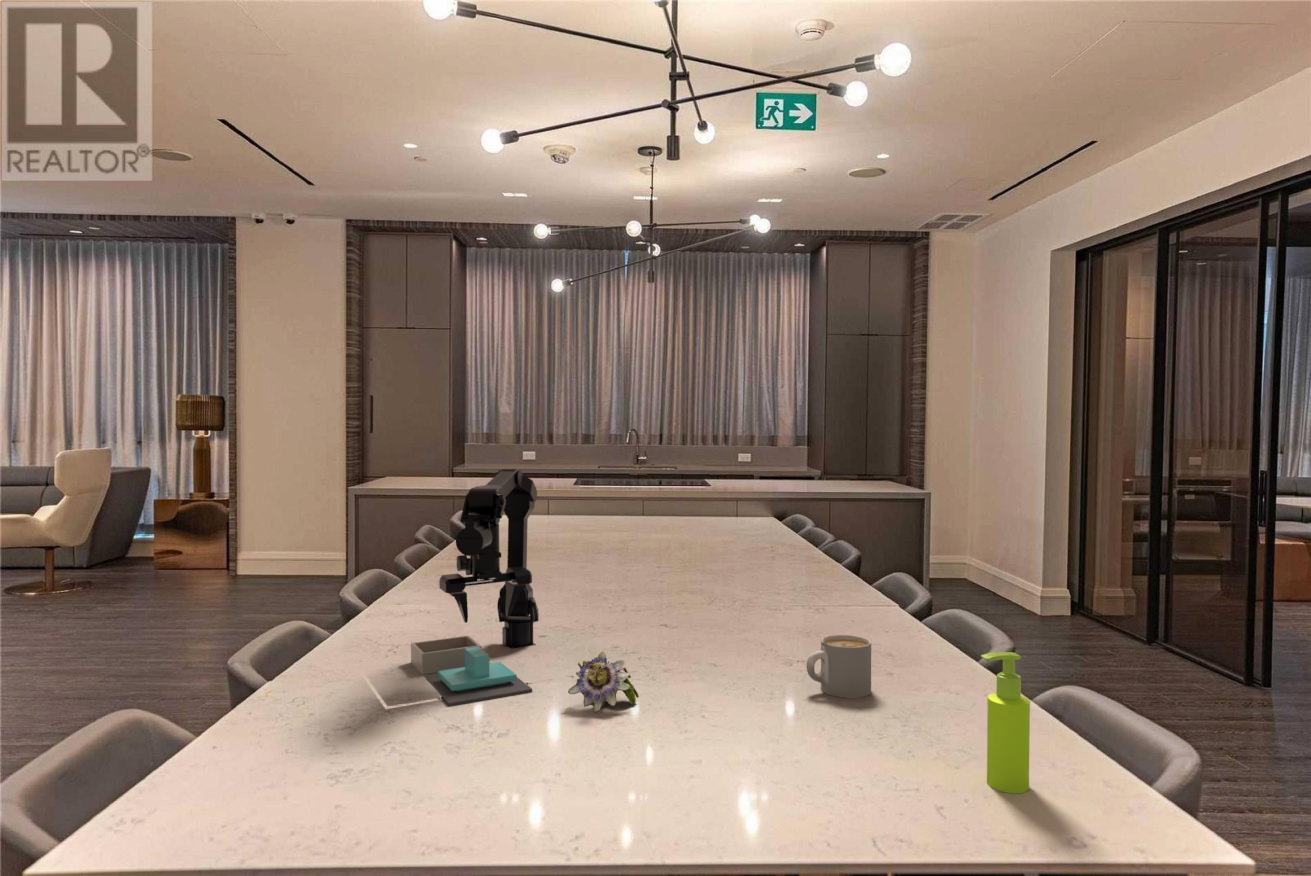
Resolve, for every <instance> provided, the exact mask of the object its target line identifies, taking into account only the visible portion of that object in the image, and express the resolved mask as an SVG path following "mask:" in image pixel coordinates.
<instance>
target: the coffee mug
mask: <svg viewBox="0 0 1311 876" xmlns="http://www.w3.org/2000/svg"><path fill="white" fill-rule="evenodd" d="M818 660H820V671H819V672H818V673H816V671H815V664H816V662H817V661H818ZM806 672H807V675H808V677H810V679H812V680H813V681H815V682H818V683H820V689H821V691H822V692H824V693H825V694H828V695H830V696H833V697H837V698H847V699H851V698H852V699H857V698H863V697H866V696H869V695H870V694H871V693H872V641H871V640H870V639H868V638H866V637H862V636H859V635H854V634H853V635H852V634H830V635H827V636H824V637H822V638H821V642H820V650H818V651H814V652H812V653H810V654H809V656H808V657H807V660H806Z"/></svg>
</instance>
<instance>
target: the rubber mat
mask: <svg viewBox="0 0 1311 876" xmlns="http://www.w3.org/2000/svg"><path fill="white" fill-rule="evenodd" d="M423 678H425V680H426V681H427V682H428V683H429V684H431V686H432V687H433V688H434V689H435V691H437V692H438V693H439V694H440V695H441V696H440V698H441V700H443V701H444V703H445V704H446V705H447V706H448V707H452V706H459V705H465V704H470V703H476V702H481V701H487V700H492V698H494V699H497V698H498V697H500V698H505V697H510V695H511V696H516V694H517V695H521V694H522V693H523V694H527V693H528V692H529V693H532V692H533V688H532V687H531V686H529V685H528V684H527V683H525V682H524V681H523V680H522V679H521V678H519V677H518V676H517V680H516V681H510V682H507V684H501V685H495V686H489V687H482V688H476V689H470V690H464V691H458V692H457V691H456V690H455V691H452V690H451V689H450V688H449V687H448V686H447V685H446V684H445V683H444V682H443V681H442V680H441V679H440V678H439V677H438V673H436V674H432V675H431V674H430V675H424V676H423ZM504 696H505V697H504ZM498 699H499V698H498Z"/></svg>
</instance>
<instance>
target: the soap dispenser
mask: <svg viewBox="0 0 1311 876" xmlns="http://www.w3.org/2000/svg"><path fill="white" fill-rule="evenodd" d="M980 657H981V658H982V659H983V660H985V661H987V662H992V661H999V660H1002V671H1000V672H999V673H997V674H996V692H993V693H989V694H988V695H987V711H986V712H987V713H986V714H987V716H986V717H987V720H986V721H987V724H986V725H987V726H986V727H987V728H986V732H987V733H986V738H987V739H986V752H987V753H986V783H987V785H988V786H989V787H991V788H993V789H994V790H997V791H1000V792H1003V793H1009V794H1022V793H1025V792H1027V791H1029V789H1030V736H1031V735H1030V729H1031V727H1030V726H1031V725H1030V721H1031V720H1030V719H1031V717H1030V716H1031V715H1030V714H1031V713H1030V712H1031V711H1030V710H1031V707H1030V705H1031V700H1029V699H1028V697H1025V696H1023V695H1022V676H1021V675H1019V674H1017V673H1016V661H1021V660H1022V656H1021V655H1020V654H1018V653H1016V652H1011V651H1010V652H1009V651H992V652H988V653H984V654H980Z"/></svg>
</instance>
